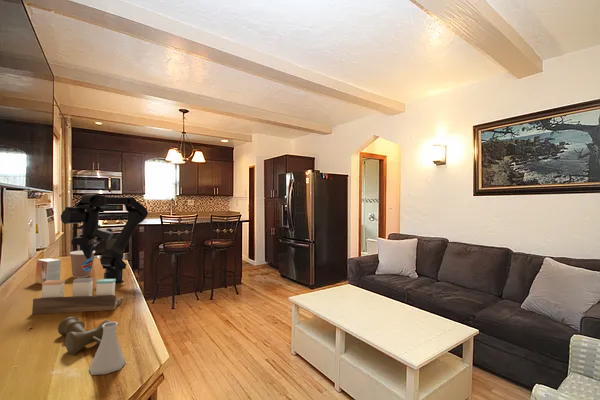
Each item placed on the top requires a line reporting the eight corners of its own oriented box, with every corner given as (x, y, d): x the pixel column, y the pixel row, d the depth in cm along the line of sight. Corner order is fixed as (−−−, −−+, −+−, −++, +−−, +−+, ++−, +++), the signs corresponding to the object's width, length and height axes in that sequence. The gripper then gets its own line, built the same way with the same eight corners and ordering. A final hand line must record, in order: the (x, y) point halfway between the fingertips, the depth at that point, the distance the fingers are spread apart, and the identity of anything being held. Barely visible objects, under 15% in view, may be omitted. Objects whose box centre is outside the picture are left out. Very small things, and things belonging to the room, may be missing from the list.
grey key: (75, 300, 105) (77, 278, 105) (92, 299, 106) (93, 277, 106) (71, 303, 102) (73, 280, 102) (88, 302, 103) (89, 280, 103)
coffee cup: (83, 279, 139) (85, 254, 139) (62, 278, 139) (64, 253, 139) (98, 274, 149) (100, 250, 149) (79, 273, 149) (80, 250, 149)
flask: (85, 379, 63) (88, 333, 63) (91, 362, 69) (94, 320, 69) (124, 371, 66) (126, 327, 66) (126, 356, 72) (129, 316, 73)
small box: (34, 283, 129) (36, 259, 129) (49, 280, 134) (51, 257, 134) (45, 285, 126) (46, 261, 126) (60, 282, 131) (61, 259, 131)
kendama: (86, 329, 87) (122, 346, 77) (46, 342, 79) (80, 363, 69) (87, 309, 87) (122, 324, 77) (46, 320, 79) (80, 338, 69)
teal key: (98, 301, 105) (99, 279, 105) (114, 300, 106) (115, 278, 107) (94, 304, 102) (96, 281, 102) (111, 303, 103) (112, 281, 103)
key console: (46, 305, 104) (47, 291, 104) (121, 301, 110) (122, 288, 110) (32, 314, 95) (33, 298, 95) (114, 309, 102) (114, 295, 102)
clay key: (46, 303, 100) (47, 280, 101) (63, 302, 102) (65, 280, 102) (40, 306, 97) (42, 282, 98) (58, 305, 99) (60, 282, 99)
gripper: (103, 224, 118) (101, 262, 117) (118, 221, 135) (116, 255, 135) (71, 224, 114) (69, 263, 114) (91, 221, 132) (89, 255, 132)
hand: (88, 258), depth 124 cm, fingers closed
